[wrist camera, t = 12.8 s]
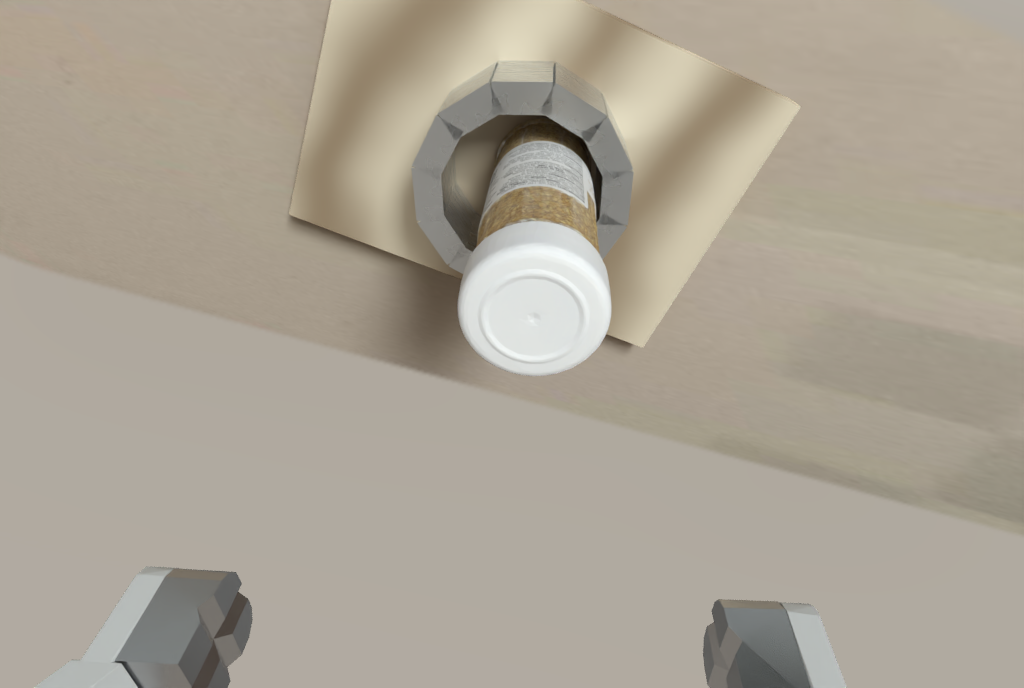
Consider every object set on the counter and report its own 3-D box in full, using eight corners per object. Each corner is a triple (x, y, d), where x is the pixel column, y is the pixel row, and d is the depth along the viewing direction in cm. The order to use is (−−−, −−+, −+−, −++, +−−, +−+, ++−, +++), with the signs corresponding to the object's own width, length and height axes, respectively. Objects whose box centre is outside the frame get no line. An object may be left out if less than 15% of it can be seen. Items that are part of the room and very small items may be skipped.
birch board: (791, 100, 28) (800, 106, 27) (640, 335, 35) (642, 347, 34) (360, -105, 24) (352, -106, 23) (297, 205, 32) (288, 214, 31)
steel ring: (632, 61, 26) (643, 82, 23) (613, 254, 31) (619, 293, 28) (421, 59, 26) (402, 80, 23) (437, 249, 32) (423, 288, 28)
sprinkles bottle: (568, 223, 30) (574, 399, 19) (481, 191, 30) (436, 355, 19) (608, 135, 28) (641, 281, 17) (513, 98, 27) (483, 225, 16)
